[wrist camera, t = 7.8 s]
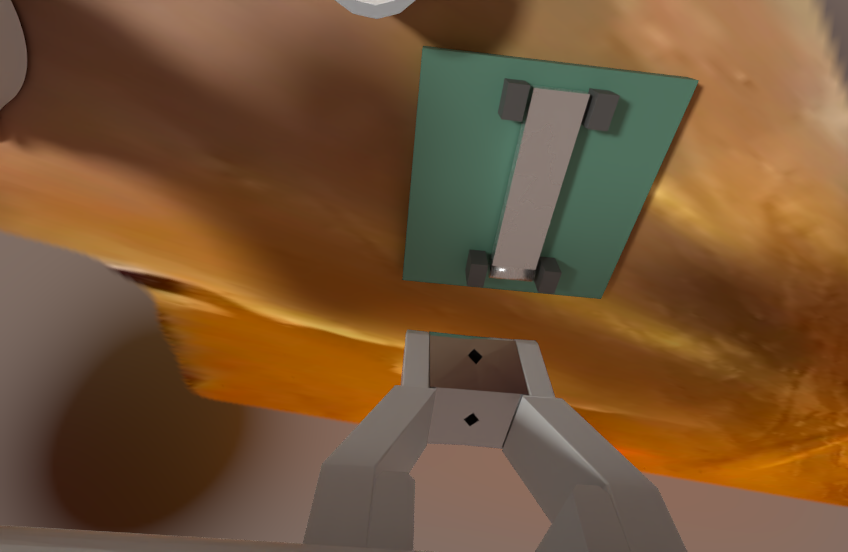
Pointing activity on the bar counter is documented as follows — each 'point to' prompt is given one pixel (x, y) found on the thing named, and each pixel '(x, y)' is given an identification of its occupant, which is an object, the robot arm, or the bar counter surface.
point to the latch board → (493, 156)
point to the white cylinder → (375, 7)
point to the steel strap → (535, 179)
